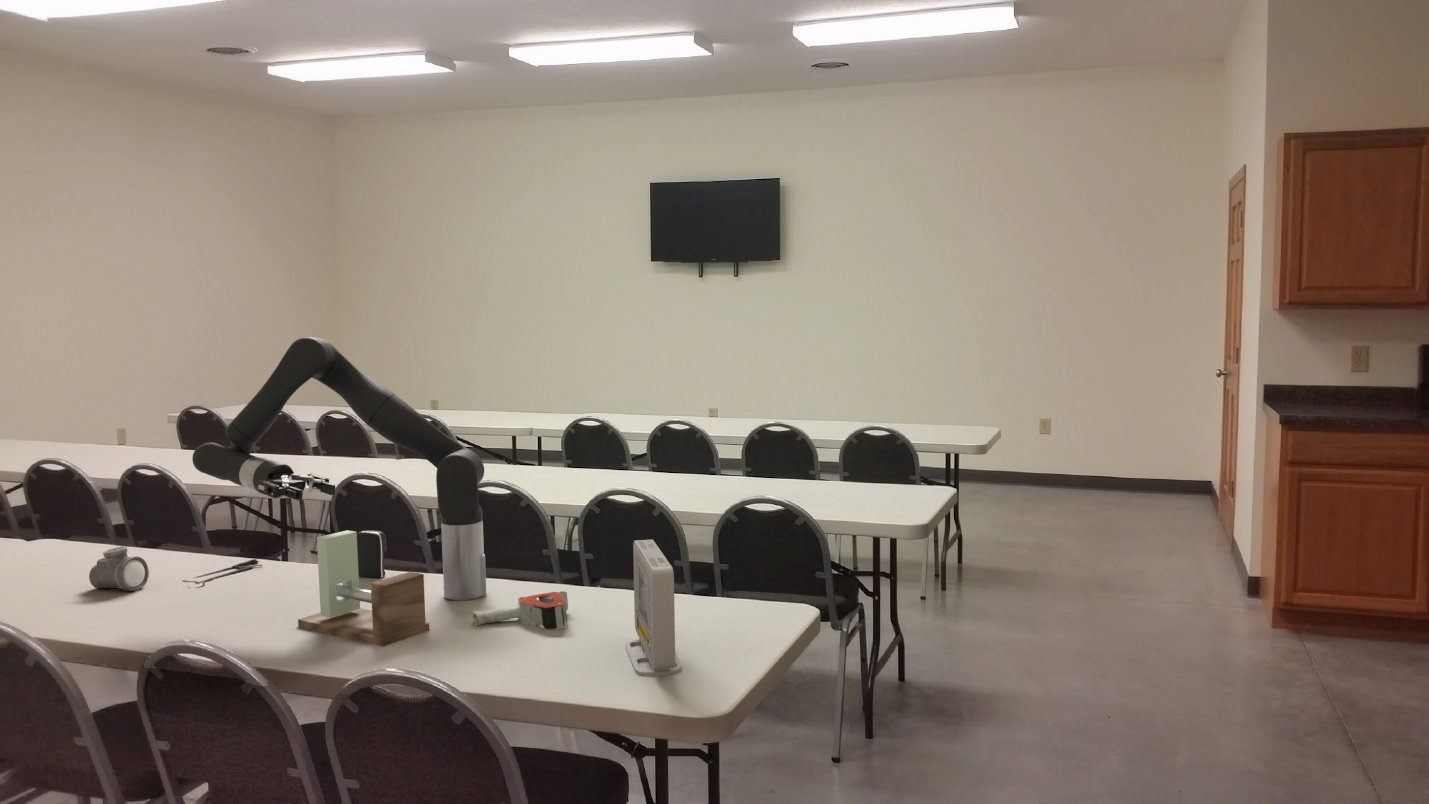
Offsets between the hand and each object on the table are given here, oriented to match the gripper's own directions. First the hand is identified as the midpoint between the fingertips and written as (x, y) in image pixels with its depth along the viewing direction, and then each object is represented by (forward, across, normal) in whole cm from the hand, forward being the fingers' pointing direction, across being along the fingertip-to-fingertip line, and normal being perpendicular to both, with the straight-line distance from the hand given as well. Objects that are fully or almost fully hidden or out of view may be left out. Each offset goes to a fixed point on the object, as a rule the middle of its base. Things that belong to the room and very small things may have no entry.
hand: (318, 492), depth 222 cm
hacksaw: (-48, +16, +35) cm, 61 cm away
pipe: (+15, 0, +20) cm, 25 cm away
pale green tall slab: (+9, +1, +24) cm, 26 cm away
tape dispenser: (+44, +20, +21) cm, 53 cm away
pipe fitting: (-60, -4, +37) cm, 70 cm away
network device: (+79, +12, +16) cm, 81 cm away
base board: (+16, 0, +25) cm, 30 cm away
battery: (-14, +31, +29) cm, 45 cm away
